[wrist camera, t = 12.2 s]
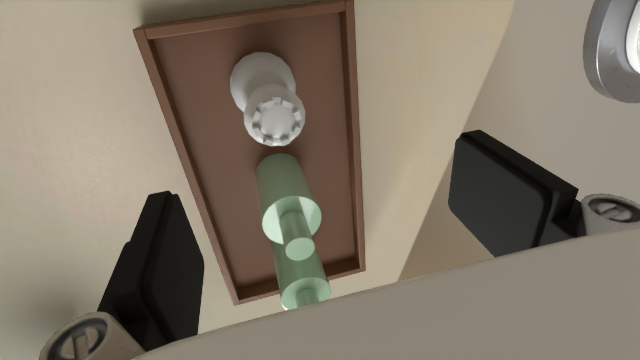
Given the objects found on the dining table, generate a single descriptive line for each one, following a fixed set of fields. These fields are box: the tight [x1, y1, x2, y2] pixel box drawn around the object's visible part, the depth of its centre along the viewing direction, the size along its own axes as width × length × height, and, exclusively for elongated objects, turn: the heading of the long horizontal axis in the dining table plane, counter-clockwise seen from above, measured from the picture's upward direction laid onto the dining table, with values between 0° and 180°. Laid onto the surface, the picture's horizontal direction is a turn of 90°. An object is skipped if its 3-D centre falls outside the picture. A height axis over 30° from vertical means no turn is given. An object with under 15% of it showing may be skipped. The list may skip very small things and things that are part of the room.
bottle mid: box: [255, 153, 321, 261], centre depth 24 cm, size 4×4×9 cm
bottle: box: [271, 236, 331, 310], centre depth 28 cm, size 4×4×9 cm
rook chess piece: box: [230, 52, 305, 147], centre depth 20 cm, size 4×4×8 cm
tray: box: [133, 0, 366, 306], centre depth 27 cm, size 13×24×2 cm, turn 6°
